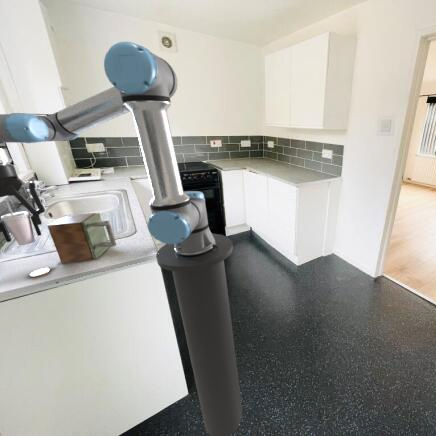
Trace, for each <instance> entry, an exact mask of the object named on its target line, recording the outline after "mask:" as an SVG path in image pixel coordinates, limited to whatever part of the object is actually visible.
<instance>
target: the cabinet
mask: <svg viewBox="0 0 436 436" xmlns="http://www.w3.org/2000/svg"><path fill="white" fill-rule="evenodd" d="M96 213H97V212H88V213H77V214H75V213H74V214H66V215H64V216H62V217H60V218H58V219H56V220H55V221H53V222H50V223H49V224H47V225H46V226H47V229H48V231H49V234H50V236H51V239H52V242H53V244H54V247H55V250H56V252H57V256H58V257H59V260H60V262H61V264H66V263H74V262H75V263H76V262H83V261H91V260H94V259H93V256H92V253H91V250H90V247H89V244H88V241H87V238H86V235H85V232H84V229H83V226H82V222H84V221H85V220H87V219H88V218H90V217H91V216H93V215H95V214H96Z"/></svg>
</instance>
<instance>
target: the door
mask: <svg viewBox="0 0 436 436" xmlns="http://www.w3.org/2000/svg"><path fill="white" fill-rule="evenodd" d="M95 213H96V214H95V215H93V216H91V217H90V218H88V219H87V220H85V221H84V222H82V226H83V229H84V232H85V235H86V238H87V241H88V244H89V247H90V250H91V253H92V256H93V260H97V259H98V258H99V257H100V256H101V255H102V254H103V253H104V252H105V251H106V250H107V249H108V248H111V247H116V246H117V245H118V244H117V241H116V237H115V234H114V231H113V227H112V224H111V221H110V220H102V217H101V213H100V212H95ZM105 228H106V230H105ZM106 231H107V234H106ZM107 235H108V237H107ZM108 239H109V240H108Z"/></svg>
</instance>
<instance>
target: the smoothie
mask: <svg viewBox="0 0 436 436" xmlns="http://www.w3.org/2000/svg"><path fill="white" fill-rule="evenodd" d="M5 204H6V206H7V208H8V212H9V213H6V214H3V215H1V216H0V220H2V221H4V223H5V226H6V228H7V230H8V231H9V233H11V235H12V236H13V238H14V240H15V241H16V243H17V244H18V245H19V246H25V245H30V244H33V243H34V242H36V239H35V234H34V230H33V224H32V220H31V218H30V216H31V215H32V213H31V212H30V211H28V210H26V211H16V212H14V211H13V209H12V206H11V205H10V202H9V200H7V201H5Z"/></svg>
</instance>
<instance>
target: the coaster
mask: <svg viewBox="0 0 436 436" xmlns="http://www.w3.org/2000/svg"><path fill="white" fill-rule="evenodd" d="M50 272H51V269H50V268H49V267H44V268H39V269H36V270H34V271H32V272H30V273H29V277H30V278H38V277H43V276H44V275H47V274H49V273H50Z"/></svg>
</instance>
